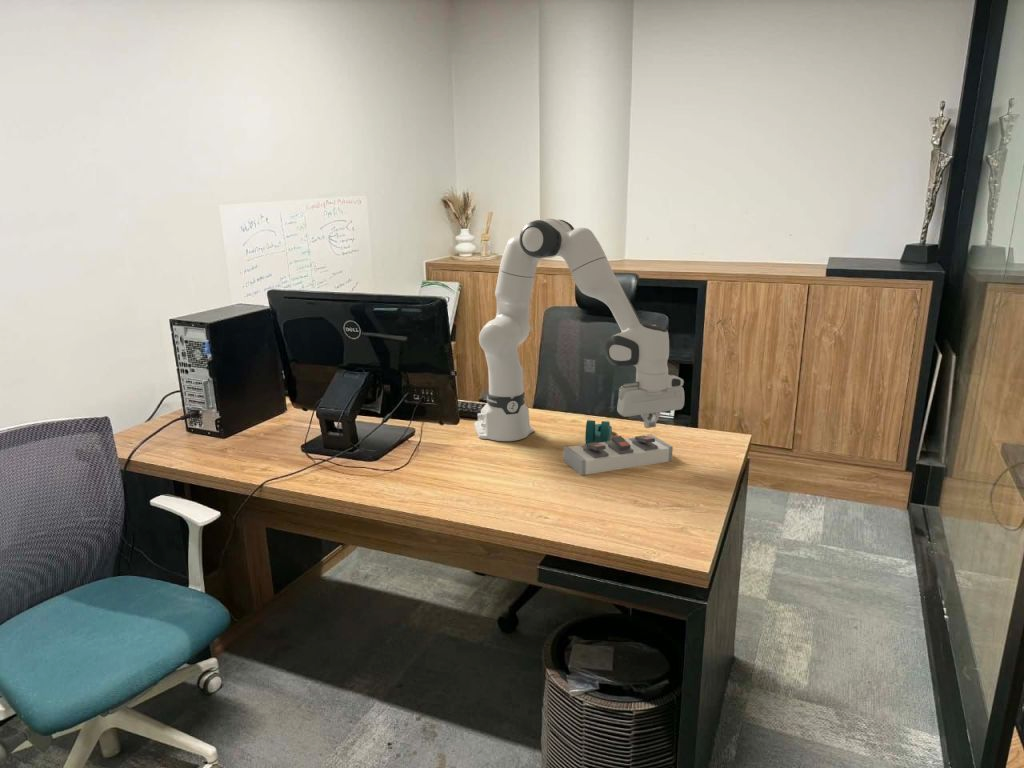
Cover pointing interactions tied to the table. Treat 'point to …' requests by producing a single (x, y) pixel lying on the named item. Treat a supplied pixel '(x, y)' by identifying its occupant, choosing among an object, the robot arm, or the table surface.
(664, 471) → the table surface
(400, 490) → the table surface
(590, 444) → the rocker
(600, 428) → the bracket
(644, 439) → the rocker
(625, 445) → the rocker
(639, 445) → the power strip
